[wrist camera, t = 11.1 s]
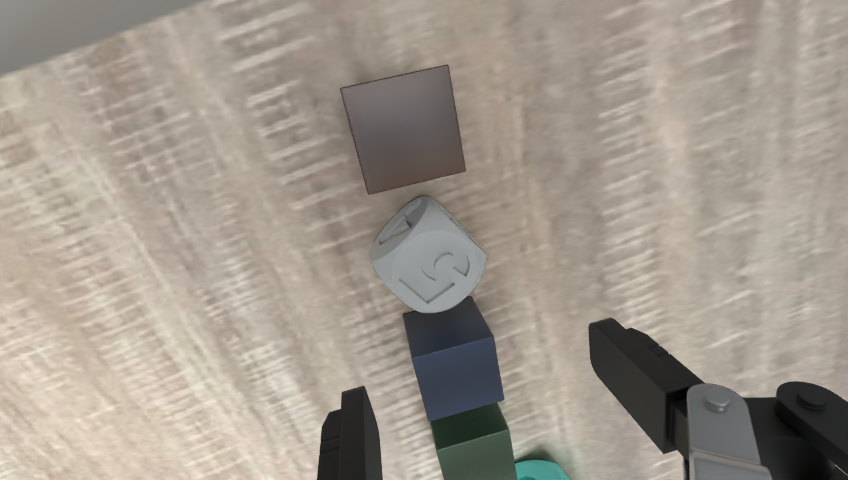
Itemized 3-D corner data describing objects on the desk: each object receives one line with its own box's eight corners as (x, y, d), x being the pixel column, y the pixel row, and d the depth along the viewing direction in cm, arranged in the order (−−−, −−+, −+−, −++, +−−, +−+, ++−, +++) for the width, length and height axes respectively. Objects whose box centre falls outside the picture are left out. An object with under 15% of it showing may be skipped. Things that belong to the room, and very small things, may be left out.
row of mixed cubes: (343, 88, 22) (339, 88, 18) (429, 69, 23) (448, 64, 18) (436, 443, 33) (449, 502, 28) (495, 426, 33) (518, 481, 28)
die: (367, 242, 26) (369, 275, 21) (422, 186, 25) (436, 208, 20) (421, 288, 28) (434, 328, 23) (474, 237, 27) (498, 268, 22)
